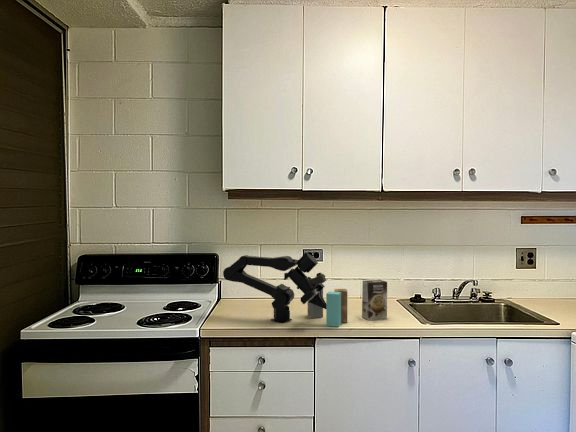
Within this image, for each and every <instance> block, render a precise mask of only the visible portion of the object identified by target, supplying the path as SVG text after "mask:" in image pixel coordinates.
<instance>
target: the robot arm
mask: <svg viewBox="0 0 576 432" xmlns="http://www.w3.org/2000/svg"><path fill="white" fill-rule="evenodd" d="M318 264H319V262H318V260H317V259H316V257H315V256H313V255H311V254H310V253H308V252H307V251H305V252H304V253H303V254H302V256H301V257H300V258H299V259H296V258H295V259H294V258H292V257H291V256H289V255H282V256H276V257H275V256H274V257H269V256H268V257H267V256H256V255H255V256H254V255H248V254H246V255H245V254H244V255H242V256H240V257H239V258H238V259H237V260H236V261H234V262H233V263H232V264H231V265H230V266H228V267H225V268H224V269H223V271H222V275H223V278H224V279H225V281H229V282H235V283H241V284H244V285H246V286H249V287H250V288H253V289H255V290H257V291H260V292H262V293H265V294H266V295H269V296H270V297H271V298H272V299H273V301H272V302H271V306H272V308H273V318H272V319H270V321H271V322H276V323H280V324H285V323H287V322H290V321H291V322H292V320H293V319H292V318H291V310H290V306H289V305H290V304H291V303H292V301H293V300H294V298H295V292H294V290H293V289H291V287H290V286H287V285H286V284H285V285H284V283H280V284H278V285H274V284H272V283H269V282H268V281H265V280H262V279H260V278H258V277H256V276H253V275H251V274H249V273H247V272H246V271H245V269H246V267H247V266H254V267H258V266H259V267H267V268H268V267H269V268H271V269H275V270H277V271H279V272H285V273H283V275H284V276H283V280H284V281H286V280H288V279H290V280H291V281H292V283H294V284H295V286H296V289H297V290H300V291H301V292H302V293H303V295H302V296H301V297H300V302H301V304H302V305H305V304H307V303H308V300H309V299H310V301H309V303H312V304H315V305H317V306H319V307H322V308H323V310H326V301H325V300H326V299H324V296H323V297H322V289H323V290H324V288H325V285H324V283H325V282H327V278H326V275H325V274H324V273H322V272H318V273H316V276H314V277H313V278H312V276H307V275H306V274H305V273H310V272H311V271H312V270H313V269H314V268H315V267H316V266H317V265H318ZM293 267H295V268H293ZM288 270H289V271H288ZM286 271H287V272H286Z"/></svg>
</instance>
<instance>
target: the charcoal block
mask: <svg viewBox="0 0 576 432" xmlns="http://www.w3.org/2000/svg"><path fill="white" fill-rule="evenodd" d="M322 297H323V298H324V288H323V289H322ZM309 301H310V299H309V300H308V301H307V316H308V317H310V318H312V319H316V318H317V319H318V318H323V317H324V308H322V307H319V306H317V305H315V304H312V303H309Z"/></svg>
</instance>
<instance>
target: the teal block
mask: <svg viewBox="0 0 576 432" xmlns="http://www.w3.org/2000/svg"><path fill="white" fill-rule="evenodd" d="M325 295H326V296H325V297H326V299H325V300H326V301H325V302H326V309H325V310H326V314H325V315H326V317H325V318H326V322H325V323H326V324H325V325H326V326H327V327H337V328H339V327H340V326H341V325H342V322H341V292H335V291H330V290H329V291H328V292H326V294H325Z"/></svg>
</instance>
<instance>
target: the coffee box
mask: <svg viewBox="0 0 576 432" xmlns="http://www.w3.org/2000/svg"><path fill="white" fill-rule="evenodd" d="M361 286H362V290H361V291H362V293H361V294H362V296H361V298H362V299H361V301H362V302H361V306H362V307H361V308H362V309H361V317H362V318H363V319H365V320H367V321H375V320H377V321H378V320H388V281H385V280H382V279H373V280H372V279H371V280H370V279H369V280H362V285H361Z"/></svg>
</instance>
